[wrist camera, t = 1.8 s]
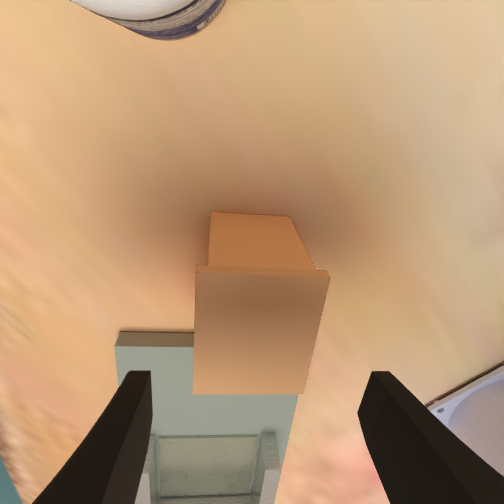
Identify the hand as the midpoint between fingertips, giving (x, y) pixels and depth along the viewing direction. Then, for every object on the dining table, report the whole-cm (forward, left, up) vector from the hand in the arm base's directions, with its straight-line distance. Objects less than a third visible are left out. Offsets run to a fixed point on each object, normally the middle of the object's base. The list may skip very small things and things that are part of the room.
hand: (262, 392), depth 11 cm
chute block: (0, 0, -9) cm, 9 cm away
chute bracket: (+12, +10, -7) cm, 17 cm away
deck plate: (+10, +8, -8) cm, 15 cm away
